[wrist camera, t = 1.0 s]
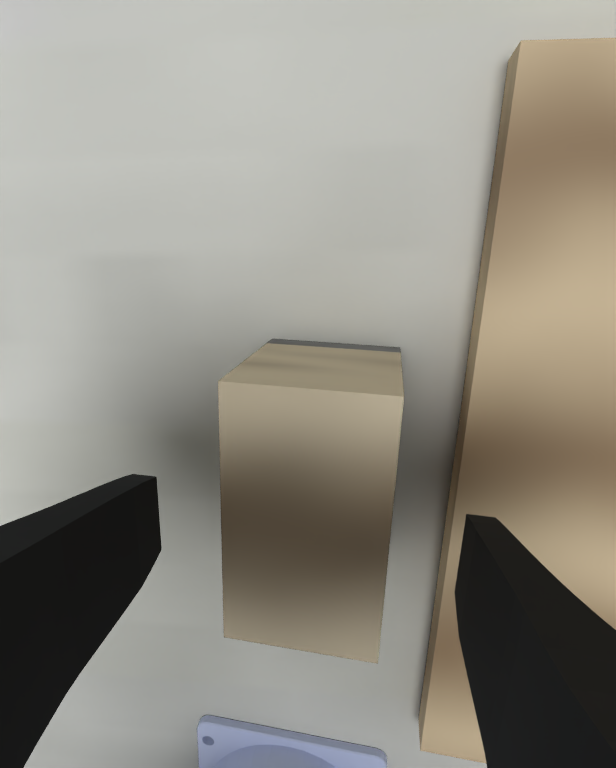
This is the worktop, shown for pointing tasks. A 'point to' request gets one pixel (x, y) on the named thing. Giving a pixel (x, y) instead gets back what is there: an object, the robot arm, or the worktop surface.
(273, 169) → the worktop surface
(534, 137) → the board
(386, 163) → the worktop surface
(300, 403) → the block
